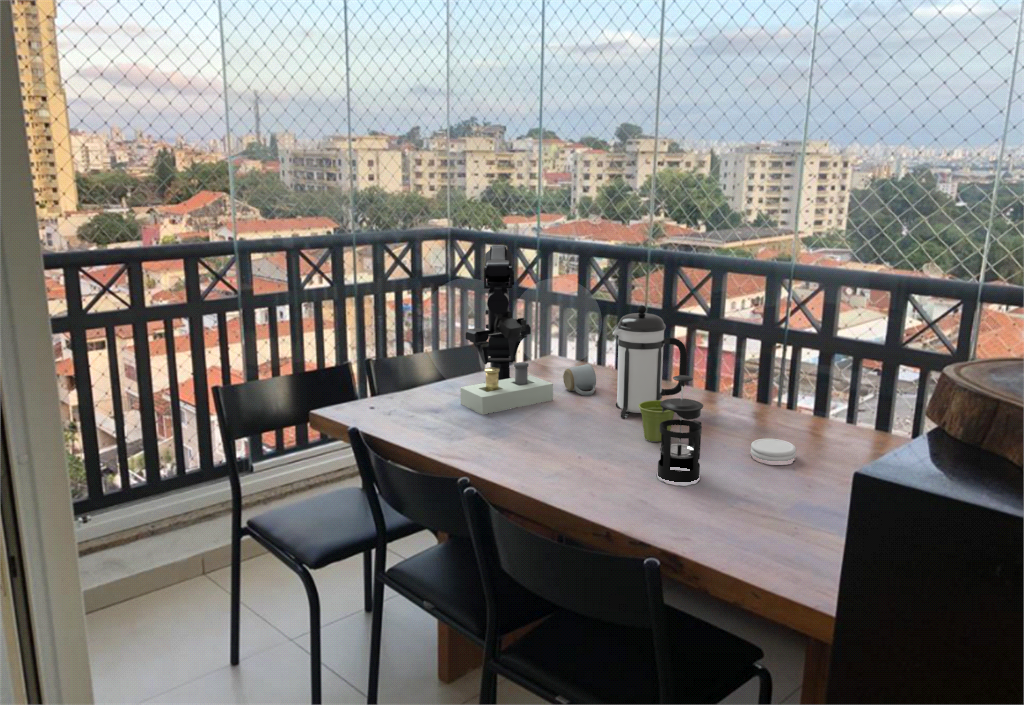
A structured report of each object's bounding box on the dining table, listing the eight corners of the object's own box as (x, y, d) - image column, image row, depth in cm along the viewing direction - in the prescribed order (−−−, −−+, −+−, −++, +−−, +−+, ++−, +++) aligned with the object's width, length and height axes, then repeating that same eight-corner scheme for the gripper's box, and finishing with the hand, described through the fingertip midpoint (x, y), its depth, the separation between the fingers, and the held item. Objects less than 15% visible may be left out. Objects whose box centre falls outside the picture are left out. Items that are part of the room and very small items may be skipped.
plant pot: (630, 439, 197) (631, 406, 195) (651, 429, 204) (652, 397, 202) (662, 448, 191) (663, 413, 189) (682, 438, 198) (684, 405, 196)
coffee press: (645, 425, 207) (649, 313, 200) (600, 411, 219) (602, 305, 212) (685, 411, 218) (690, 304, 211) (640, 399, 230) (644, 297, 223)
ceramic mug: (561, 388, 242) (561, 364, 240) (585, 385, 245) (586, 361, 243) (576, 398, 232) (577, 373, 230) (601, 394, 235) (602, 370, 233)
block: (460, 404, 227) (460, 387, 225) (529, 390, 239) (529, 374, 238) (482, 414, 217) (482, 397, 216) (552, 400, 230) (553, 383, 228)
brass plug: (482, 394, 225) (481, 368, 224) (494, 392, 228) (494, 366, 226) (489, 397, 222) (489, 371, 220) (502, 395, 224) (502, 369, 222)
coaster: (765, 469, 178) (766, 454, 177) (741, 453, 188) (742, 440, 187) (804, 464, 181) (805, 450, 180) (778, 449, 190) (779, 435, 189)
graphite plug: (511, 388, 231) (511, 363, 229) (523, 386, 233) (523, 361, 231) (519, 392, 227) (519, 366, 225) (531, 389, 230) (531, 364, 228)
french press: (680, 490, 166) (685, 385, 161) (645, 477, 173) (649, 376, 168) (713, 476, 174) (719, 375, 168) (679, 464, 181) (683, 367, 175)
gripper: (486, 315, 207) (487, 372, 211) (542, 307, 218) (542, 362, 221) (463, 309, 216) (465, 364, 220) (519, 302, 227) (519, 354, 230)
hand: (499, 361), depth 223 cm, fingers open, 9 cm apart
